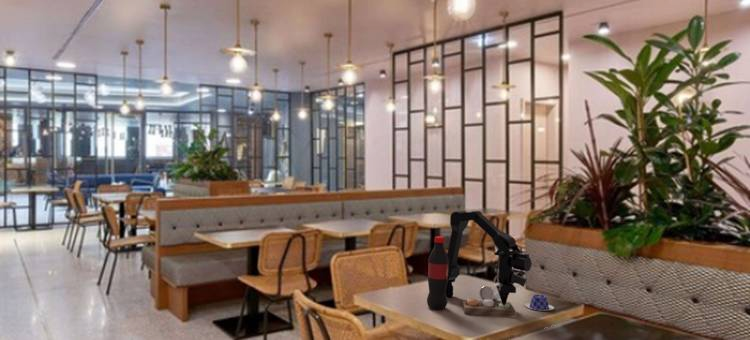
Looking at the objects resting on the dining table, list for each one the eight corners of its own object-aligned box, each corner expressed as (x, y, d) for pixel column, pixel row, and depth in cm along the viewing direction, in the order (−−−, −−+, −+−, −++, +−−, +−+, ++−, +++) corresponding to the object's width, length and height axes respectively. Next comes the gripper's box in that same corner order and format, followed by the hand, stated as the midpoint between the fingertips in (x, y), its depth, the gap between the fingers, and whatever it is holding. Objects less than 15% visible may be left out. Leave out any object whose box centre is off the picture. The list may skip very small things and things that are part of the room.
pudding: (550, 314, 220) (551, 301, 220) (521, 309, 226) (522, 296, 226) (556, 307, 231) (556, 295, 231) (528, 302, 237) (528, 290, 237)
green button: (499, 312, 218) (499, 305, 218) (497, 309, 222) (497, 302, 222) (510, 313, 218) (510, 306, 217) (508, 310, 222) (508, 303, 222)
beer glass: (491, 282, 240) (482, 282, 227) (505, 289, 237) (497, 290, 224) (485, 296, 240) (475, 297, 227) (499, 303, 237) (490, 305, 224)
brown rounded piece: (467, 307, 219) (467, 301, 219) (466, 304, 223) (466, 298, 223) (477, 308, 219) (478, 301, 219) (476, 305, 223) (477, 298, 223)
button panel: (464, 313, 215) (464, 307, 215) (462, 305, 227) (462, 299, 227) (514, 316, 214) (515, 310, 214) (509, 308, 226) (510, 302, 226)
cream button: (483, 308, 219) (483, 302, 218) (481, 305, 223) (482, 299, 223) (494, 309, 218) (494, 302, 218) (492, 306, 222) (492, 299, 222)
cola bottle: (448, 306, 225) (451, 236, 224) (444, 312, 217) (447, 238, 216) (429, 304, 228) (431, 234, 227) (424, 309, 220) (427, 237, 219)
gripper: (529, 273, 209) (528, 312, 210) (521, 263, 228) (519, 299, 228) (501, 271, 210) (499, 310, 211) (494, 262, 229) (493, 298, 229)
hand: (503, 304), depth 220 cm, fingers closed, pressing on green button
